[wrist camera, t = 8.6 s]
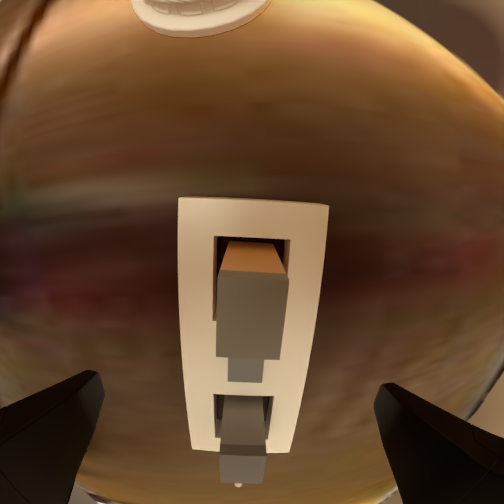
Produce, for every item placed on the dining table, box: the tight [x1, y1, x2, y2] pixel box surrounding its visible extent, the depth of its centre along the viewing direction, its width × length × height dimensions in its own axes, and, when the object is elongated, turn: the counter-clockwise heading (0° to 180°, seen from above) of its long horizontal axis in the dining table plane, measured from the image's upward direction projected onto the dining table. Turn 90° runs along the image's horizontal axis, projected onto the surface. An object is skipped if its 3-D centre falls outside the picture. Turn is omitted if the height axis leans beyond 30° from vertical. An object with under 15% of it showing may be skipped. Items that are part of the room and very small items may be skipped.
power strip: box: [178, 196, 329, 487], centre depth 21 cm, size 32×9×3 cm, turn 177°
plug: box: [216, 241, 289, 360], centre depth 16 cm, size 4×3×8 cm
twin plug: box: [219, 395, 267, 484], centre depth 19 cm, size 4×3×8 cm
